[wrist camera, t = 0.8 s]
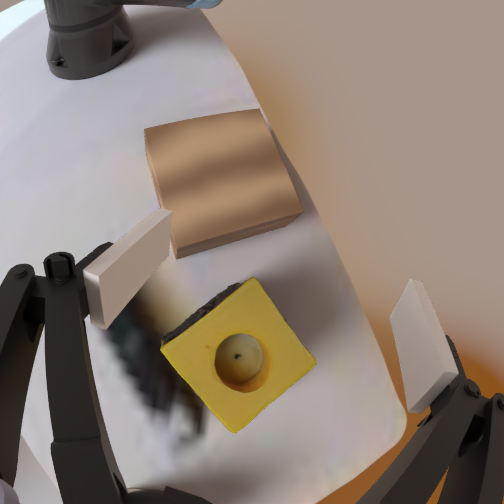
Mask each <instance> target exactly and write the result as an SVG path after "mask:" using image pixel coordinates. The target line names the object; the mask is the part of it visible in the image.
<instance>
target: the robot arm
mask: <svg viewBox="0 0 504 504" xmlns="http://www.w3.org/2000/svg"><path fill="white" fill-rule="evenodd" d="M221 2H222V0H44V4H45V9H46V13H47V18H48V22H49V26H50V31H49V38H48V45H47V54H46V57H47V62H48V65H49V68H50V71H51V72H52V73H53V74H54V75H55V76H57V77H59V78H62V79H68V80H77V79H85V78H89V77H93V76H96V75H99V74H101V73H104V72H106V71H108V70H110V69H112V68H113V67H115V66H117V65H118V64H119V63H121V62H122V61H123V60H124V59H125V58H126V57H127V56H128V55H129V54H130V52H131V51H132V49H133V46H134V30H133V27H132V25H131V22H130V20H129V18H128V16H127V14H126V12H125V10H124V8H123V5H157V6H171V7H182V8H206V9H208V8H213V7H216V6H217V5H219V4H220V3H221ZM171 221H172V211H170V210H166V209H163V208H159V209H157V210H156V211H155V212H154V213H152V214H151V215H150V216H148V217H147V218H146V219H144V220H143V221H142V222H141V223H139V224H138V225H137V226H135V227H134V228H133V229H132V230H130V231H129V232H128V233H127V234H125V235H124V236H123V237H122V238H120V239H119V240H118V241H117V242H116V243H111V242H107V243H105V244H102V245H100V246H98V247H97V248H96V249H95V250H93V252H91V253H90V254H88V255H87V257H85V258H83V259H82V260H81V261H80V262H79V263H77V264H76V265H75V260H74V257H73V255H71V254H70V253H67V252H56V253H53V254H51V255H48V256H47V257H46V258H45V260H44V262H43V264H44V269H45V274H46V277H43V276H37V275H35V272H34V269H33V267H32V266H31V265H29V264H19V265H16V266H14V267H13V268H11V269H10V270H9V272H8V273H7V275H6V277H5V279H4V280H3V282H2V284H1V286H0V504H20V503H19V500H18V496H17V494H16V492H15V491H14V489H13V486H14V481H15V477H16V470H17V463H18V452H19V441H20V434H21V426H22V419H23V413H24V407H25V401H26V396H27V391H28V386H29V381H30V377H31V372H32V368H33V364H34V360H35V356H36V352H37V348H38V345H39V341H40V338H41V334H42V331H43V327H44V324H45V364H46V380H47V391H48V401H49V410H50V417H51V424H52V430H53V437H54V441H53V442H52V443H51V455H52V460H53V465H54V470H55V474H56V478H57V482H58V486H59V490H60V493H61V497H62V500H63V504H212V503H210V502H208V501H207V500H205V499H203V498H201V497H198V496H195V495H192V494H189V493H186V492H183V491H180V490H177V489H174V488H171V487H169V486H166V488H165V490H164V491H161V490H139V491H133V492H129V493H128V490H127V488H126V485H125V483H124V480H123V478H122V475H121V473H120V471H119V468H118V466H117V463H116V460H115V457H114V454H113V451H112V448H111V444H110V441H109V438H108V434H107V431H106V427H105V423H104V419H103V416H102V412H101V408H100V403H99V399H98V395H97V390H96V386H95V381H94V376H93V370H92V365H91V359H90V353H89V347H88V341H87V334H86V326H85V321H84V319H85V318H86V317H87V316H88V314H90V319H91V324H93V325H96V326H98V327H100V328H102V329H104V330H106V329H107V328H108V327H109V325H110V324H111V323H112V322H113V320H114V319H115V318H116V317H117V315H118V314H119V313H120V312H121V311H122V309H123V308H124V307H125V306H126V305H127V303H128V302H129V301H130V300H131V299H132V297H133V296H134V295H135V294H136V293H137V291H138V290H139V289H140V288H141V287H142V286H143V284H144V283H145V282H146V281H147V280H148V279H149V277H150V276H151V275H152V274H153V273H154V272H155V270H156V269H157V268H158V267H159V266H160V265H161V264H162V262H163V261H164V260H165V259H166V258H167V257H168V256H169V245H170V233H171ZM390 322H391V326H392V330H393V334H394V339H395V344H396V348H397V353H398V358H399V362H400V368H401V373H402V378H403V384H404V390H405V396H406V402H407V408H408V412H413V413H422V412H423V411H424V410H425V409H426V408H427V407H428V406H429V405H430V409H431V413H430V414H429V415H428V416H427V417H426V418H425V419H424V420H422V421H421V422H420V423H419V424H418V425H417V426H418V427H419V426H420V427H419V428H418V430H417V431H416V432H415V434H414V435H413V437H412V438H411V440H410V441H409V442H408V443H407V445H406V446H405V447H404V449H403V450H402V451H401V452H400V454H399V455H398V456H397V458H396V459H395V460H394V461H393V462H392V464H391V465H390V466H389V467H388V469H387V470H386V471H385V472H384V473H383V475H382V476H381V477H380V478H379V479H378V480H377V481H376V482H375V483H374V485H373V486H372V487H371V488H370V489H369V490H368V491H367V492H366V493H365V494H364V495H363V496H362V497H361V498H360V499H359V500H358V501H357V503H355V504H426V503H427V501H428V500H429V498H430V497H431V495H432V493H433V492H434V490H435V489H436V487H437V486H438V484H439V482H440V480H441V479H442V477H443V476H444V474H445V472H446V470H447V469H448V467H449V469H448V472H447V475H446V479H445V482H444V485H443V488H442V491H441V494H440V497H439V500H438V503H437V504H502V500H503V496H504V395H503V394H501V393H496V394H495V395H494V396H493V397H492V398H491V399H488V398H486V397H484V396H481V392H480V389H479V387H478V386H477V384H476V383H475V382H473V381H472V380H470V379H467V378H466V376H465V372H464V370H463V367H462V364H461V361H460V359H459V356H458V354H457V353H456V352H457V351H456V348H455V346H454V343H453V342H452V340H451V339H450V338H449V336H448V335H445V334H444V332H443V329H442V327H441V324H440V322H439V319H438V317H437V314H436V312H435V310H434V307H433V305H432V303H431V301H430V299H429V296H428V294H427V292H426V290H425V288H424V286H423V283H422V281H419V280H415V279H412V278H410V280H409V282H408V284H407V286H406V287H405V289H404V291H403V293H402V295H401V297H400V299H399V300H398V302H397V304H396V306H395V308H394V309H393V311H392V313H391V315H390Z"/></svg>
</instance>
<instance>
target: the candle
mask: <svg viewBox="0 0 504 504" xmlns="http://www.w3.org/2000/svg"><path fill="white" fill-rule="evenodd" d="M161 342H162V346H161V349H160V350H161V351H162V353H163V354H164V355H165V357H166V358H167V359H168V361H169V362H170V363H171V365H172V366H173V367H174V368H175V370H176V371H177V372H178V373H179V374H180V375H181V376H182V377H183V379H184V380H185V381H186V382H187V383H188V384H189V385H190V386H191V387H192V389H193V390H194V391H195V393H196V394H197V395H198V396H199V397H201V399H202V400H203V401H204V403H205V404H206V405H207V406H208V408H209V409H210V410H211V411H212V412H213V414H214V415H215V416H216V417H217V418H218V419H219V420H220V421H221V422H222V423H223V425H224V426H225V427H226V428H227V429H228V430H229V431H230V432H232V433H237V432H238V431H240V430H241V429H242V428H244V427H245V426H246V425H247V424H248V423H249V422H251V421H252V420H253V419H254V418H255V417H256V416H257V415H258V414H259V413H260V412H261V411H262V410H263V409H265V408H266V407H267V406H268V405H269V404H270V403H272V402H273V401H274V400H275V399H277V398H278V397H279V396H280V395H281V394H283V393H284V392H285V391H286V390H287V389H288V388H289V387H291V386H292V385H293V384H294V383H295V382H297V381H298V380H299V379H301V378H302V377H303V376H304V375H305V374H306V373H308V372H309V371H310V370H311V369H312V368H313V367H314V366H315V365H316V360H315V357H314V356H313V355H312V354H311V353H310V352H309V351H308V350H307V349H306V348H305V347H304V346H303V345H302V344H301V343H300V341H299V340H298V338H297V336H296V335H295V333H294V332H293V331H292V329H291V328H290V327H289V326H288V324H287V322H286V320H285V319H284V318H283V317H282V316H281V314H280V313H279V311H278V310H277V308H276V307H275V305H274V304H273V302H272V301H271V299H270V297H269V296H268V294H267V293H266V292H265V290H264V289H263V287H262V286H261V284H260V283H259V281H258V280H257V279H256V278H255V277H251V278H250V279H249V280H246V281H245V282H244V283H242V284H239V283H235V284H233V285H230V286H228V288H227V289H226V290H224V291H223V292H221V293H219V294H218V295H217V296H216V297H214V298H212V299H211V300H210V301H209V302H208V303H206V304H205V305H204V306H202V307H201V308H199V309H198V310H197V311H196V312H195V313H194V314H192V315H191V316H190V317H189V318H187V319H186V320H185V322H183V323H182V324H181V325H180V326H179V327H177V328H176V329H175V330H174V331H172V332H169V333H167V335H166V336H164V337H163V338H162V339H161Z"/></svg>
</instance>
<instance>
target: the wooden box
mask: <svg viewBox="0 0 504 504" xmlns="http://www.w3.org/2000/svg"><path fill="white" fill-rule="evenodd" d="M144 134H145V148H146V156H147V160H148V164H149V168H150V172H151V176H152V179H153V183H154V187H155V191H156V194H157V198H158V201H159V205H160V208H163V209H166V210H170V211H172V221H171V233H170V242H171V245H172V248H173V252H174V255H175V258H176V259H179V258H182V257H186V256H189V255H192V254H195V253H199V252H202V251H205V250H208V249H212V248H215V247H218V246H221V245H225V244H228V243H231V242H234V241H238V240H241V239H244V238H248V237H251V236H254V235H258V234H261V233H264V232H268V231H271V230H274V229H278V228H281V227H284V226H286V225H287V224H289V223H290V222H291V221H292V220H294V219H295V218H296V217H297V216H299V215H300V214H301V213H303V212H304V211H303V208H302V206H301V203H300V201H299V198H298V196H297V194H296V191H295V189H294V186H293V184H292V182H291V179H290V177H289V174H288V172H287V170H286V167H285V165H284V163H283V160H282V158H281V156H280V153H279V151H278V149H277V147H276V144H275V142H274V140H273V138H272V135H271V133H270V131H269V129H268V126H267V124H266V122H265V120H264V118H263V116H262V113H261V111H260V109H251V110H243V111H236V112H229V113H222V114H216V115H210V116H204V117H199V118H193V119H188V120H183V121H178V122H173V123H168V124H164V125H159V126H155V127H151V128H146V129H144Z"/></svg>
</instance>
